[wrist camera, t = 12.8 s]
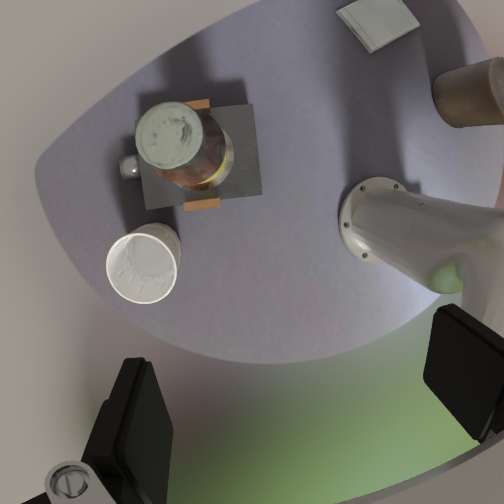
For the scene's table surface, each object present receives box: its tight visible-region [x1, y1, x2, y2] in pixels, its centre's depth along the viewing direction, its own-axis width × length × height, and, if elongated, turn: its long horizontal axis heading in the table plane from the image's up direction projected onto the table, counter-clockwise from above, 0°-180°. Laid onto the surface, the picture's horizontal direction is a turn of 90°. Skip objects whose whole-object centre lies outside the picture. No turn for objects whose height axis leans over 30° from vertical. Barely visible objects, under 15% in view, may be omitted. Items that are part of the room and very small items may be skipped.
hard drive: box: [336, 0, 420, 54], centre depth 36 cm, size 2×8×12 cm
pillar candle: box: [433, 57, 504, 128], centre depth 34 cm, size 10×10×15 cm
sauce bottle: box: [135, 101, 227, 185], centre depth 26 cm, size 7×6×20 cm
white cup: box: [106, 222, 181, 304], centre depth 38 cm, size 8×8×10 cm
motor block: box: [119, 99, 262, 212], centre depth 36 cm, size 17×12×7 cm
